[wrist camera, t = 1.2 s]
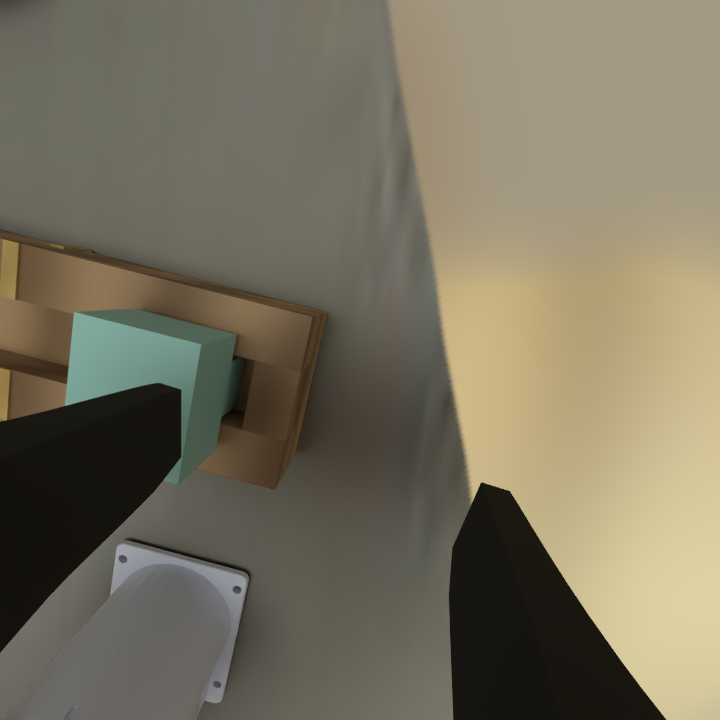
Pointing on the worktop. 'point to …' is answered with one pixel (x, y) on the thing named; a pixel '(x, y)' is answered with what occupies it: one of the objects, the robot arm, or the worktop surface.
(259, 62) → the worktop surface
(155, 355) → the block
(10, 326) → the slotted wooden block
